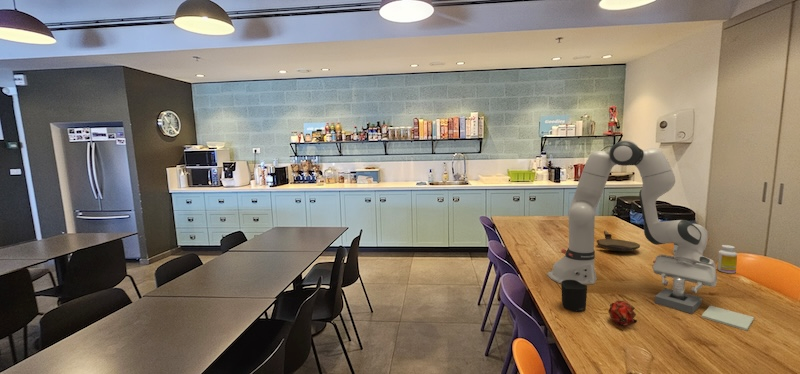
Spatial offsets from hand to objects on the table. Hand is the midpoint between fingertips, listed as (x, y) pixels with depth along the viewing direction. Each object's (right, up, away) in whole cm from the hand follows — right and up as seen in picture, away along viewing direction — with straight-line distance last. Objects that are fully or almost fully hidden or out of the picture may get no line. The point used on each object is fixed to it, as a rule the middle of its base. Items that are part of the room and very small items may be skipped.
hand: (678, 288), depth 134 cm
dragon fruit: (-31, -10, -11) cm, 34 cm away
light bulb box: (+51, +2, +56) cm, 76 cm away
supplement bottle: (+50, -1, +30) cm, 58 cm away
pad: (+9, -8, -11) cm, 16 cm away
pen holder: (-42, -9, +2) cm, 43 cm away
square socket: (0, -7, +1) cm, 7 cm away
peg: (0, -7, +1) cm, 7 cm away
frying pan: (+22, +2, +71) cm, 74 cm away
